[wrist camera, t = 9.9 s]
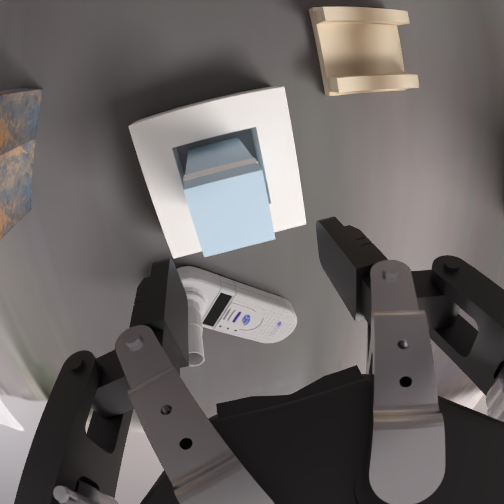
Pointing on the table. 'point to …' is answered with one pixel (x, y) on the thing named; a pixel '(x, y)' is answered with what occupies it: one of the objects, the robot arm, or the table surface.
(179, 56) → the table surface
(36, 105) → the marbled rust block
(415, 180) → the table surface
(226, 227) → the plug
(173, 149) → the socket
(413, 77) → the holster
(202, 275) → the electronic device
